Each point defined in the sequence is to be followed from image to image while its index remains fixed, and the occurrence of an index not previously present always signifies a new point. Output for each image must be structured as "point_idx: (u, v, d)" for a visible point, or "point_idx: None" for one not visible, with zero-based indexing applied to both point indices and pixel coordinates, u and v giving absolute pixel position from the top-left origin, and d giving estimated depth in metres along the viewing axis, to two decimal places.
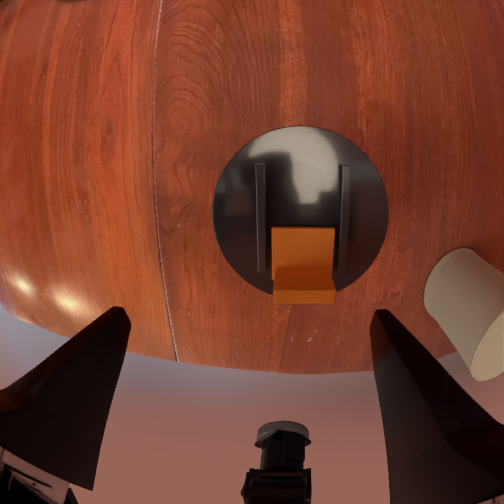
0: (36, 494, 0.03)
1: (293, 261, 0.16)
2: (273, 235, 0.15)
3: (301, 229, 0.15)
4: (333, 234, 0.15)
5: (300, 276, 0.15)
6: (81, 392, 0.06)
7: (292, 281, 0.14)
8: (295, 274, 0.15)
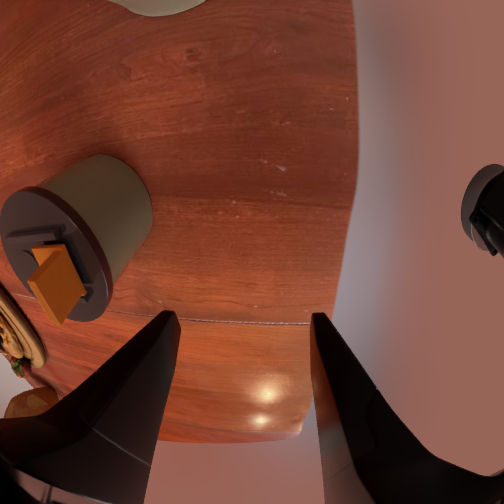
0: None
1: None
2: None
3: None
4: (34, 249, 0.13)
5: None
6: (136, 408, 0.06)
7: None
8: None
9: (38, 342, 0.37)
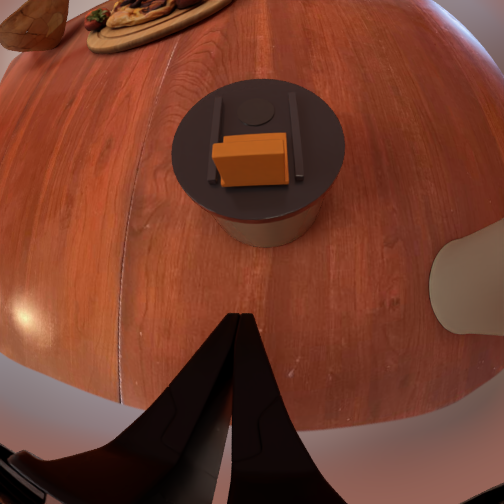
0: (36, 494, 0.03)
1: None
2: (224, 141, 0.15)
3: (252, 134, 0.15)
4: (284, 136, 0.14)
5: None
6: (215, 422, 0.06)
7: None
8: None
9: (116, 50, 0.31)
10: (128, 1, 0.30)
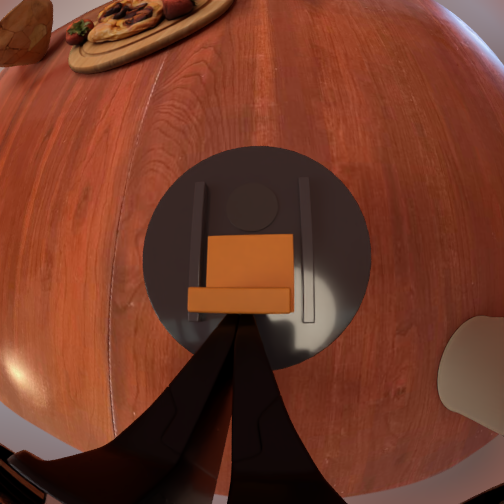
0: (36, 494, 0.03)
1: (236, 282, 0.11)
2: (209, 245, 0.12)
3: (246, 236, 0.11)
4: (291, 241, 0.11)
5: None
6: (215, 422, 0.06)
7: None
8: None
9: (96, 70, 0.28)
10: (112, 11, 0.27)
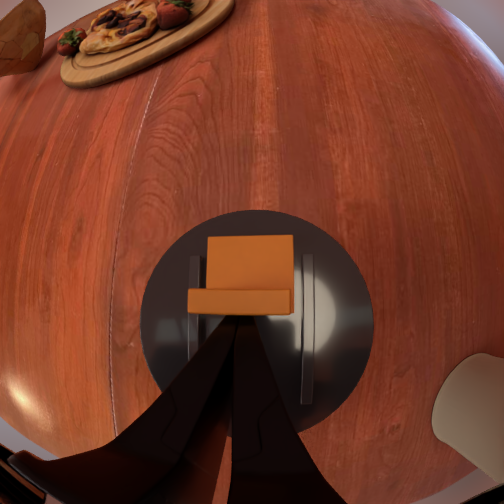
0: (36, 494, 0.03)
1: (236, 283, 0.11)
2: (209, 246, 0.12)
3: (246, 237, 0.11)
4: (291, 242, 0.11)
5: None
6: (215, 422, 0.06)
7: None
8: None
9: (88, 86, 0.27)
10: (105, 19, 0.26)
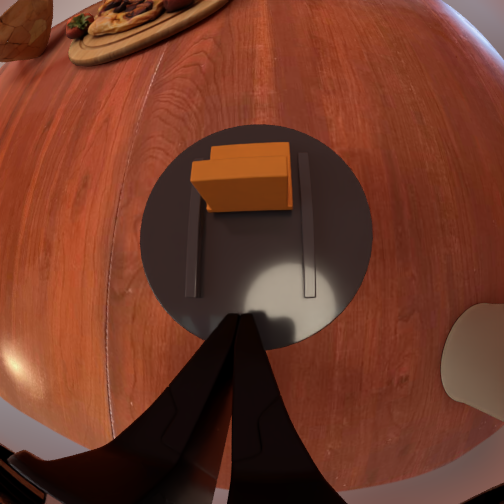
0: (36, 494, 0.03)
1: None
2: (212, 153, 0.12)
3: (246, 144, 0.12)
4: (287, 147, 0.12)
5: None
6: (215, 422, 0.06)
7: None
8: None
9: (96, 62, 0.27)
10: (112, 4, 0.26)
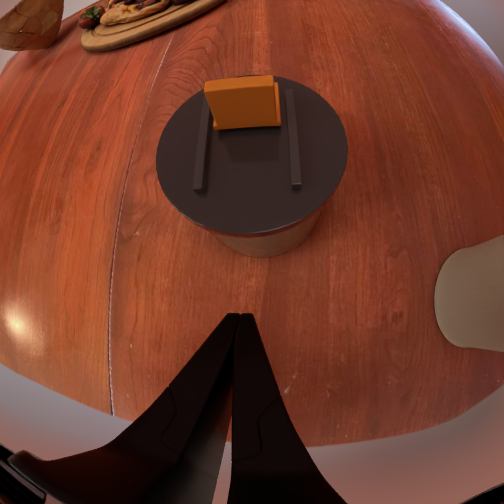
0: (36, 494, 0.03)
1: None
2: None
3: None
4: (276, 85, 0.14)
5: None
6: (215, 422, 0.06)
7: None
8: None
9: (109, 48, 0.29)
10: None
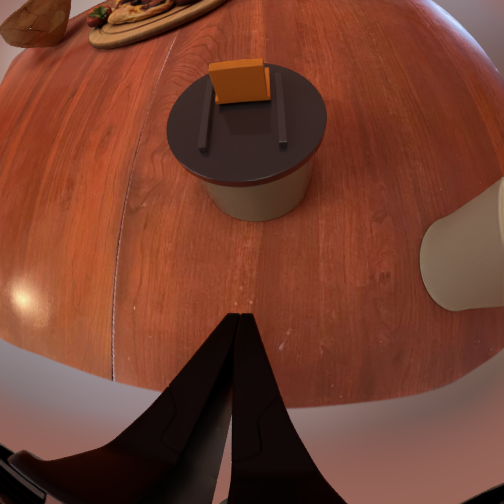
0: (36, 494, 0.03)
1: None
2: None
3: None
4: (267, 69, 0.16)
5: None
6: (215, 422, 0.06)
7: None
8: None
9: (117, 45, 0.32)
10: None
